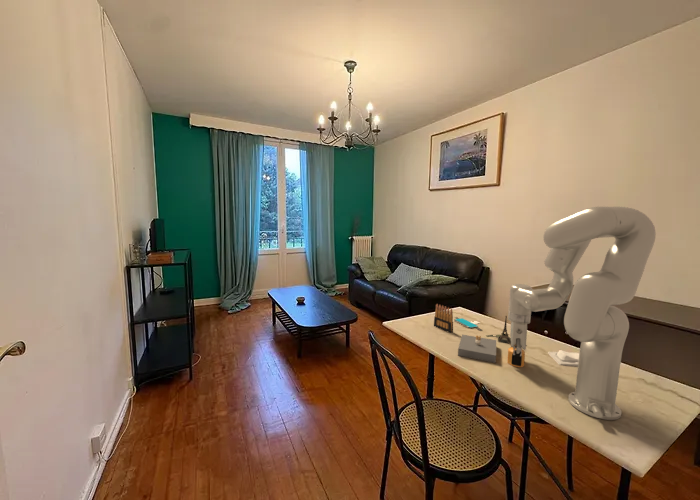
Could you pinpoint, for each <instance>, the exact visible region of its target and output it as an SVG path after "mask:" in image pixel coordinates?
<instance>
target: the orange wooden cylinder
mask: <svg viewBox="0 0 700 500" xmlns="http://www.w3.org/2000/svg"><path fill="white" fill-rule="evenodd" d="M507 350H508V351H507V360H506V361H507V364H508V365H510V366H512V367H515V368H523V367H525V359H526V355H525V354H526V350H524V349H522V362H521V366H517V365H512V363H511V362H512V354H513V347H511V346H510V347H508V348H507ZM515 350H516V349H515Z"/></svg>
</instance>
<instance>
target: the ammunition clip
mask: <svg viewBox="0 0 700 500" xmlns="http://www.w3.org/2000/svg"><path fill="white" fill-rule="evenodd" d="M453 312H454V311H453V308H452V307H451V308H450V307H449V306H448V307H447V305H446V306H444V305H443V304H442V305H441V304H438V303H436V304H435V312H434V318H433V319H434V320H433V327H435V326H436V328H437V327H438V329H440V328H441V329H440V330H442V329H443V331H445V332H447V331H448V333H449V334H450V333H451V332H452V333H453V332H454V319H453V318H454V317H453V316H454V314H453Z"/></svg>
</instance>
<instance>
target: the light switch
mask: <svg viewBox="0 0 700 500" xmlns="http://www.w3.org/2000/svg"><path fill="white" fill-rule="evenodd" d="M579 353H580V352H576V351H575V352H572V351H570V352H568V351H565V350H562V349H560V350H558V351H548V352H547V354H548V355H549V356H550V358H552V359H553V360H554V361H555V362H556V363H557V365H559V366H568V367H569V366H570V367H577V368H578V361H579Z"/></svg>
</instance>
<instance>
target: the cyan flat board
mask: <svg viewBox="0 0 700 500" xmlns="http://www.w3.org/2000/svg"><path fill="white" fill-rule="evenodd" d="M472 321H474V322H472ZM472 321H469V320H467V319H465V318H460V317H457V316H456V317H454V319H453V322H455V323H457V324H458V323H459V324H458V325H460V324H461V325H460V326H462V325H463V327H464V326H465V327H464V328H467V329H468V328H470V329H476V330H479V331H482V329H481V328H479V326H478V325H479V324H478V323H480V322H479V321H477V320H472Z"/></svg>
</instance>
